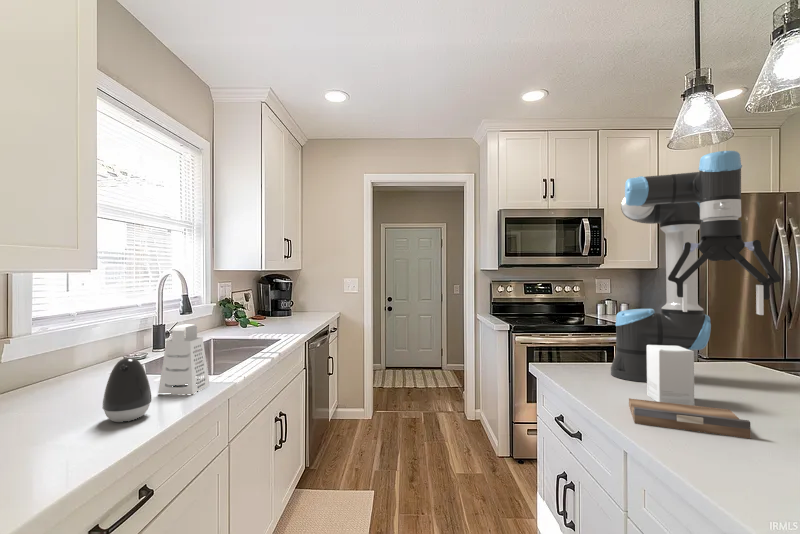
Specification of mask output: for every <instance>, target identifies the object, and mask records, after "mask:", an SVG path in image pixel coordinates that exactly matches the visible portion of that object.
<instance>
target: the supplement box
mask: <svg viewBox="0 0 800 534" xmlns="http://www.w3.org/2000/svg"><path fill="white" fill-rule="evenodd" d="M646 395H647V396H648V397H649V398H650V399H652V401H657V402H666V403H675V404H684V405H693V406H695V350H688V349H685V348H683V347H680V346H667V345H647V382H646Z"/></svg>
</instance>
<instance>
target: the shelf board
mask: <svg viewBox="0 0 800 534" xmlns="http://www.w3.org/2000/svg"><path fill="white" fill-rule="evenodd" d="M628 407H629V411H630V413H631V416H632V419H633V422H634V424H637V425H646V426H653V427H658V426H659V427H661V428H667V429H674V428H675V430H681V429H685V430H684V431H689V430H692V431H691V432H696V431H700V432H699V433H704V432H706V433H705V434H711V433H714V434H713V435H719V434H721V435H720V436H726V435H728V436H727V437H734V436H735V437H736V438H744V439H751V421H750V420H748V419H743V418H741V419H740V418H739V417H738V416H737V415H736V414H735V413H734V412H733V411H731V409H727V408H717V407H712V406H711V407H710V406H700V405H694V406H693V405H684V404H675V403H666V402H657V401H655V400H647V399H637V398H636V399H635V398H630V397H629V398H628ZM735 437H734V438H735Z"/></svg>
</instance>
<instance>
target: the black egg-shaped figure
mask: <svg viewBox="0 0 800 534" xmlns="http://www.w3.org/2000/svg"><path fill="white" fill-rule="evenodd" d="M151 391H152V390H151V386H150V383H149V378H148V376H147V373H146V370H145V368H144V366H143V365H142V363H141V362H140V361H139V360H138V359H137V358H135V357H125V358H122V359H120V360H119V361H118V362H117V363H116V364H115V365H114V367H113V368H112V370H111V371H110V374H109V376H108V379H107V382H106V386H105V389H104V394H103V398H102V406H101V407H102V410H103V411H104V414H105V416H106V418H107V419H108V420H110V421H112V422H115V423H124V422H123V421H128V422H131V421H130V420H133V421H135V420H134V419H136V420H138V419H140V418H141V417H142V416H144V415H145V414H146V413H147V411H148V410H149V408H150V405H151V403H152V392H151ZM139 417H140V418H139ZM137 418H138V419H137Z"/></svg>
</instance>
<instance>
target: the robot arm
mask: <svg viewBox="0 0 800 534" xmlns="http://www.w3.org/2000/svg"><path fill="white" fill-rule="evenodd" d="M741 161H742V160H741V154H740V153H739V152H738V151H737V150H736V151H735V150H721V151H720V150H719V151H714V152H710V153H706V154H704V155H702V156H701V157H700V159H699V164H698V165H699V166H698V171H695V172H694V171H693V172H685V173H683V172H682V173H673V174H671V173H670V174H663V175H662V174H661V175H651V176H650V175H649V176H648V175H647V176H643V175H642V176H641V175H639V176H638V177H637V176H636V177H630V178H627V180H626V181H625V183H624V198H623V199H622V202H621V204H620V209H621V212H622V214H623V216H624V217H625V218H627V219H628V220H631V221H633V222H637V223H640V224H659V229H660V230H661V232H663V233H664V234H665V275H666V276H665V280H666V282H665V285H666V287H665V289H666V302H665V304H664V305H663V306H662V307H661V313H658V312H656V310H655V309H653V308H635V309H627V310H626V309H625V310H621V311H618V312H617V314H616V316H615V317H616V318H615V323H614V324H615V327H616V328H615V331H616V332H615V355H614V357H613V361H612V363H611V366H610V376H613V377H615V378H617V379H621V380H625V381H626V380H627V381H632V382H643V383H644V382H645V383H647V345H667V346H680V347H683V348H685V349H688V350H691V351H701V350H703V349H705V348H706V347H707V346H708V345H707V344H708V343H709V340H710V338H711V337H710V336H711V331H712V329H711V328H712V324H711V317H710V316H709V315H707V314H706V313H704V308H703V307H702V306H700V305H699V301H698V300H699V299H698V298H699V297H698V269H699V268H700V267H701V266H702V265H703V264H704V263H705V262H706V261H707V260H709V261H711V262H718V261H722V262H723V261H724V262H726V261H727V262H731V261H732V260H734V261H735V262H736V263H738V264H739V265H740V266H741V267H742V268H744V270H746V272H748V273H749V274H750V275H751V276H753V278H754V279H755V280H757V282H759V283H760V284H755V292H756V293H755V295H756V297H755V299H756V300H755V303H756V304H755V311H756V312H755V314H756V315H759V316H764V313H765V310H764V307H765V305H764V300H765V301H766V300H769V299H770V297H771V295H770V294H771V293H770V292H771V291H770V290H771V289H770V288H771V287H770V286H771V285H772V284H774V283H779V282H781V281H782V277H781V276H780V274H779V273H778V271H777V270H776V269H775V267H774V265H773V264H772V263H771V262H770V259H769V258H768V256H766V254H765V253H764V251H763V249H762V243H761V240H758V239H754V240H752V241H743V235H742V233H743V231H742V226H743V225H742V221H741V220H740V219H739V218H742V167H743V165H742V162H741ZM698 231H699V242H698V243H697V232H698ZM744 248H747V250H749V251H751V252H752V254H753V255H754V256H755V258H756V260H757V261H758V262H759V264H760V265H761V266H762V268H763V270H764V271H765V273H766V274H767V276H768V277H767V276H765V275H764V274H763V273H762V272H761V271H759V269H757V268H756V267H755V266H754V265H752V263H750V261H748V260H747V259H746V258H745V257H744V255H742V254H741V251H742V250H744ZM697 249H698V250H699V252H700V253H701V255H700V256H699V257H697V255H698V254H697Z"/></svg>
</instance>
